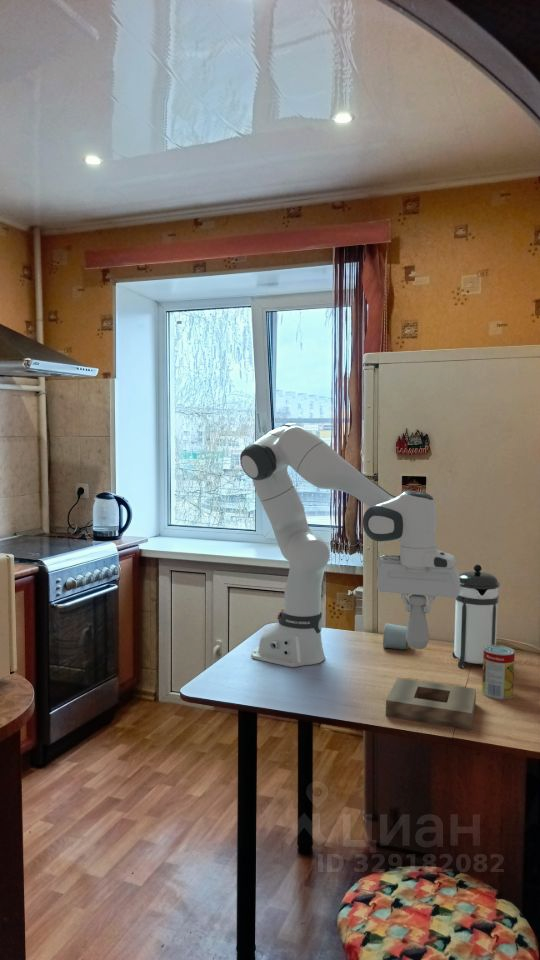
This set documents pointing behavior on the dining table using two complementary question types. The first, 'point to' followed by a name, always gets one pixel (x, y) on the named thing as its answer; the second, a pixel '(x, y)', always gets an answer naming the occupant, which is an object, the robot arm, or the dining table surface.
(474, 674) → the dining table surface
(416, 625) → the salt shaker
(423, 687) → the walnut holder
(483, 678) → the canned food
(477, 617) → the coffee press
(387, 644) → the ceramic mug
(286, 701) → the dining table surface
